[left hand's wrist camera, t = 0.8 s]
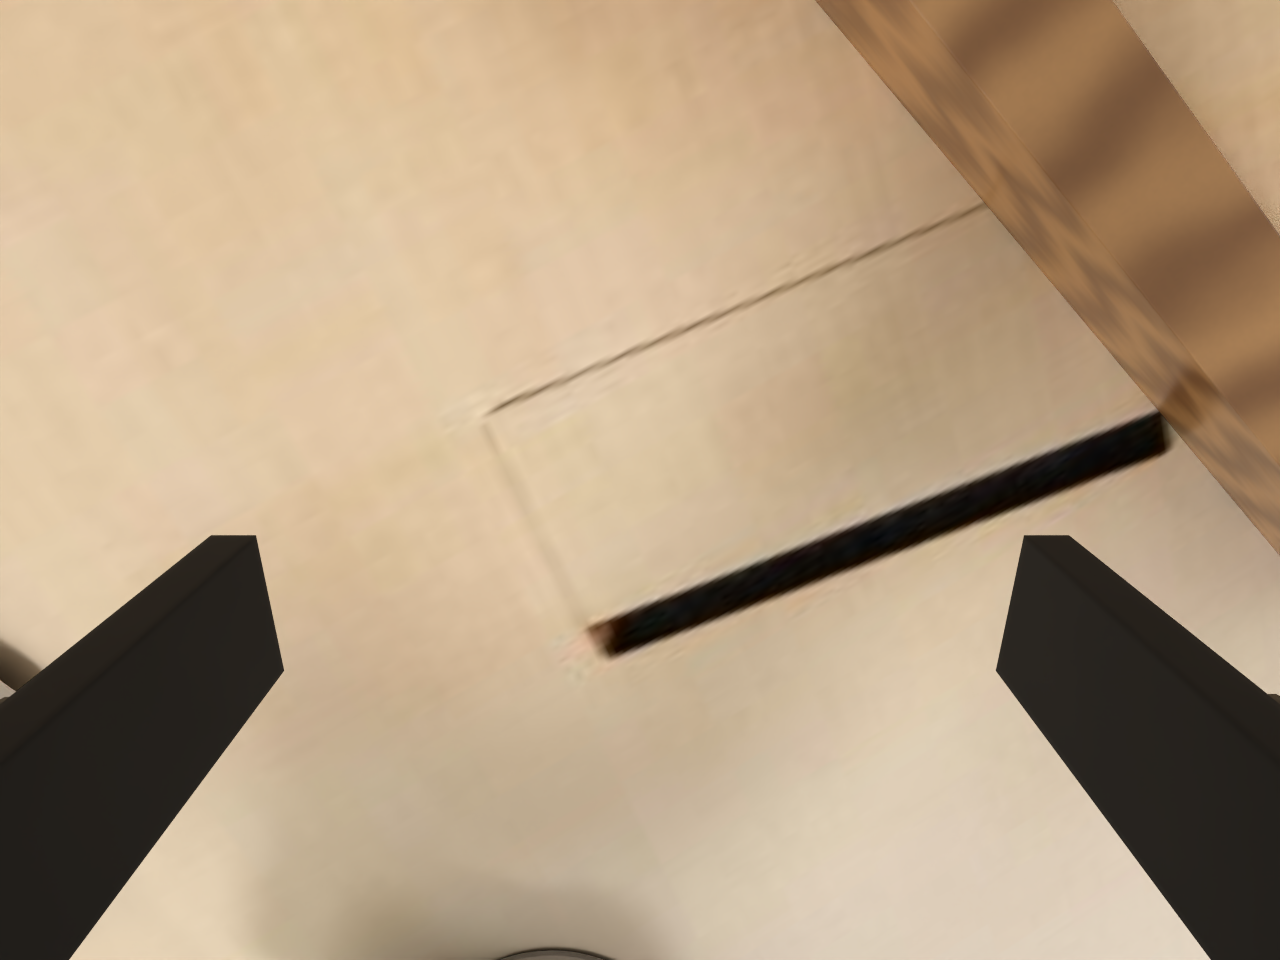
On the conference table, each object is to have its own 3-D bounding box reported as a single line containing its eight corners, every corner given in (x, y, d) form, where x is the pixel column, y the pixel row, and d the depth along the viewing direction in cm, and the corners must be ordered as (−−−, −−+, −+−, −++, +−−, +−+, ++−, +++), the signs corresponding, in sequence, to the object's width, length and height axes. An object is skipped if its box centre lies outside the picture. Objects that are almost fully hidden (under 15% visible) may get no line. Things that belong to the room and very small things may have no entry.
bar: (1396, 544, 40) (1551, 616, 33) (1316, 599, 41) (1450, 679, 34) (285, -902, 22) (130, -1382, 16) (202, -731, 24) (25, -1107, 17)
